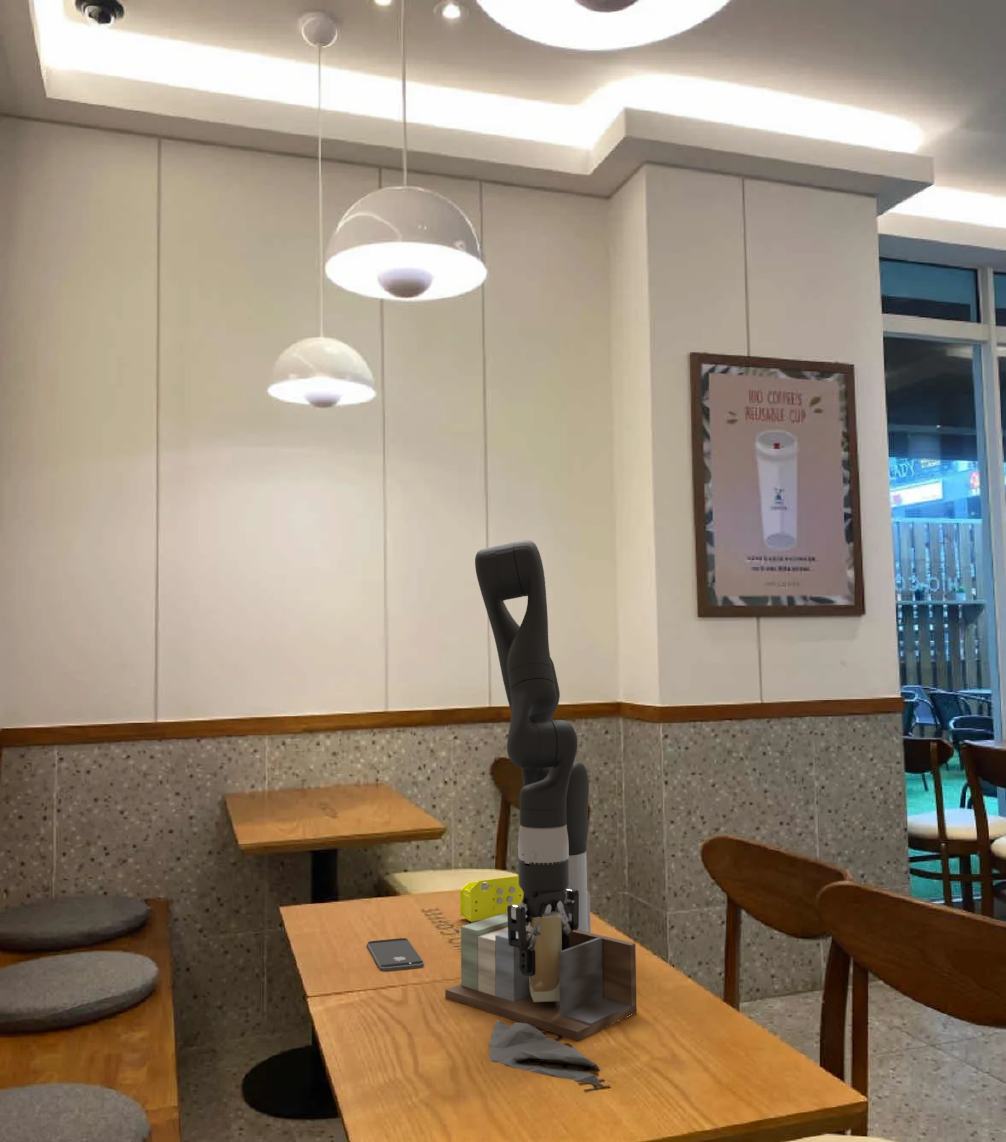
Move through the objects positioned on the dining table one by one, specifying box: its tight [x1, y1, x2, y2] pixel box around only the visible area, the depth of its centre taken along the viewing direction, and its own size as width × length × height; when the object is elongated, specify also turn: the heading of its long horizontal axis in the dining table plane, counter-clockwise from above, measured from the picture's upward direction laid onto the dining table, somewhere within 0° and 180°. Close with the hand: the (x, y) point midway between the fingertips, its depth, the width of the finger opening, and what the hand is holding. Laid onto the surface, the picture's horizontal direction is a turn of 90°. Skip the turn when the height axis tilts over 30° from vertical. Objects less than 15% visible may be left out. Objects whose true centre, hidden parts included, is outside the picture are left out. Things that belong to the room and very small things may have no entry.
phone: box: [366, 937, 425, 972], centre depth 178 cm, size 8×1×16 cm
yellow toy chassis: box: [459, 874, 524, 923], centre depth 203 cm, size 16×6×8 cm, turn 118°
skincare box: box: [529, 911, 562, 1002], centre depth 150 cm, size 6×4×12 cm
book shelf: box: [444, 913, 638, 1042], centre depth 153 cm, size 14×26×10 cm, turn 48°
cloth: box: [488, 1019, 606, 1088], centre depth 135 cm, size 26×14×2 cm, turn 19°
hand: (544, 968), depth 150 cm, fingers closed on skincare box, 7 cm apart
